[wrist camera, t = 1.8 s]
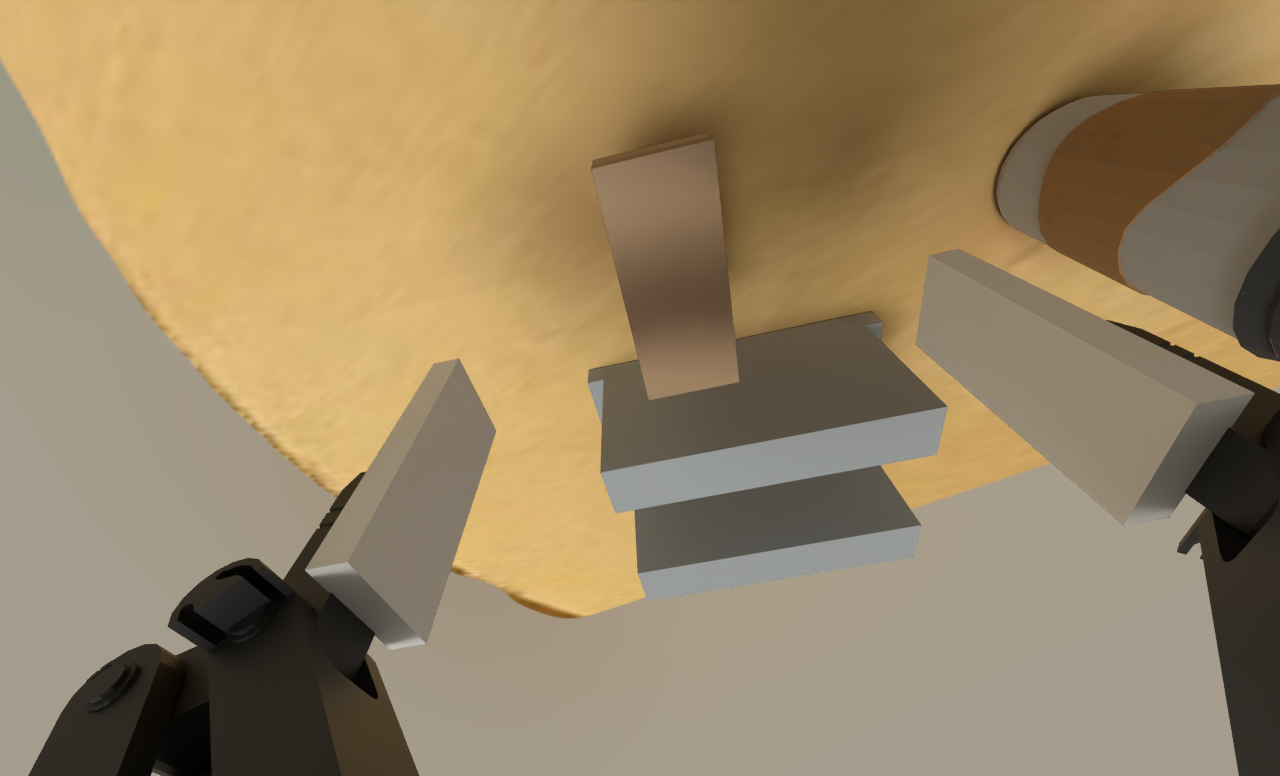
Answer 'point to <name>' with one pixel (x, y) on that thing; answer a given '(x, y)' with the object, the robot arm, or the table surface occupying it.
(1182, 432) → the robot arm
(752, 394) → the slot stand
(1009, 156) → the coffee cup
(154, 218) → the table surface
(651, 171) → the wooden t-shaped block
